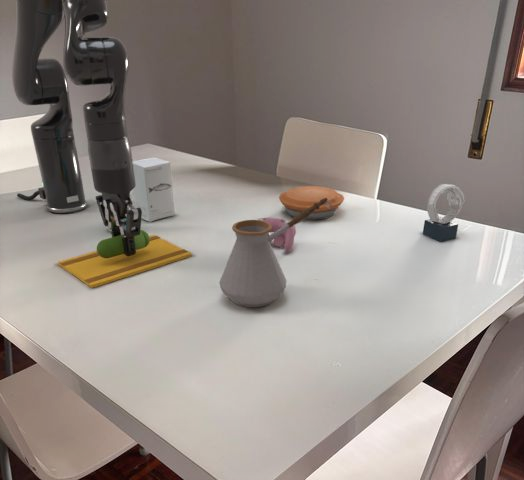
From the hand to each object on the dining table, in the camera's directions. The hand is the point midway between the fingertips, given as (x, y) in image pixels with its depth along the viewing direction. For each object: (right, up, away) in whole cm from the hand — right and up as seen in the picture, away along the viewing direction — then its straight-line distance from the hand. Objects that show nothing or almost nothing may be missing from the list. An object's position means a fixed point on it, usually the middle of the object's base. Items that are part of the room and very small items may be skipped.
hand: (125, 251), depth 111 cm
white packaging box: (+1, +13, +24) cm, 27 cm away
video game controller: (+29, +2, +6) cm, 30 cm away
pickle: (0, 0, 0) cm, 0 cm away
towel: (0, -2, +1) cm, 2 cm away
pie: (+39, +14, +25) cm, 48 cm away
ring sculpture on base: (+66, +5, +11) cm, 67 cm away
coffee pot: (+30, -9, -11) cm, 33 cm away
